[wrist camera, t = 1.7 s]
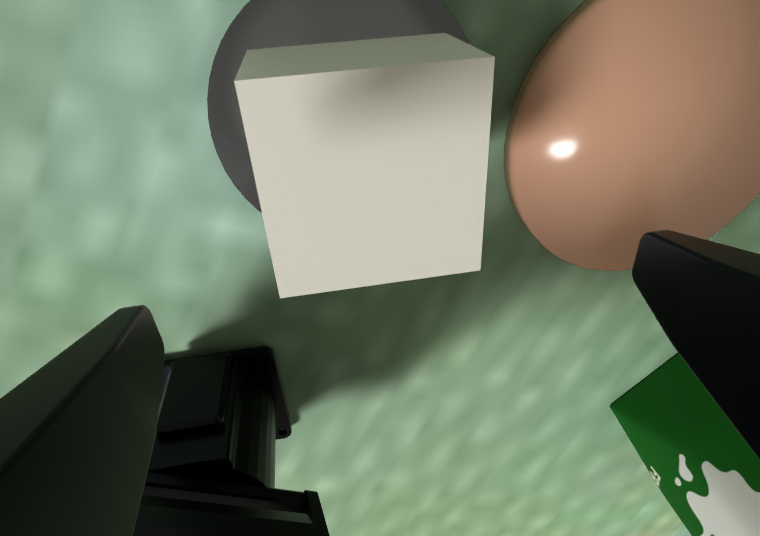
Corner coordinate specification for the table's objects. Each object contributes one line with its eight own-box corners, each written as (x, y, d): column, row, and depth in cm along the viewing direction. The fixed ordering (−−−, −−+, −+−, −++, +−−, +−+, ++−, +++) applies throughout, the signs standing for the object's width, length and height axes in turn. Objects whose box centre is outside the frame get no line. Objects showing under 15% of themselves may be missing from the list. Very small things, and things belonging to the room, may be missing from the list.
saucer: (732, 240, 25) (750, 251, 24) (493, 274, 24) (502, 287, 23) (849, -59, 18) (881, -60, 17) (520, -35, 17) (534, -34, 16)
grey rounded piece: (467, 214, 22) (525, 298, 17) (242, 243, 21) (228, 342, 16) (479, -48, 17) (572, -51, 11) (176, -28, 16) (118, -19, 10)
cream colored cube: (442, 208, 18) (480, 270, 15) (281, 228, 18) (279, 298, 14) (445, 32, 15) (494, 56, 11) (246, 49, 14) (233, 80, 11)
